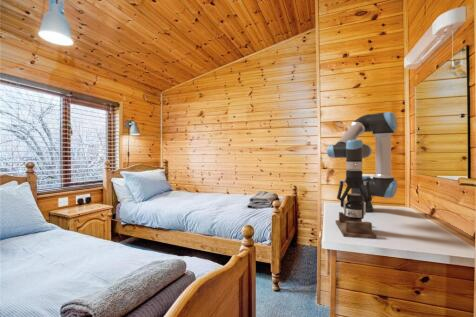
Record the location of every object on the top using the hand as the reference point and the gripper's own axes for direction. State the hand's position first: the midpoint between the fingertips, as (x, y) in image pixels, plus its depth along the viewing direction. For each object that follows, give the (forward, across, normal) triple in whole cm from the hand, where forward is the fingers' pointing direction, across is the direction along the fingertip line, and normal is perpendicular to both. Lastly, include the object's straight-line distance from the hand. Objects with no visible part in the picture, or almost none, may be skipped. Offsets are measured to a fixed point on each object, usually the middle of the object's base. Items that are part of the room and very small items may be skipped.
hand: (353, 213), depth 120 cm
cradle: (+8, 0, 0) cm, 8 cm away
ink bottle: (+2, 0, 0) cm, 2 cm away
